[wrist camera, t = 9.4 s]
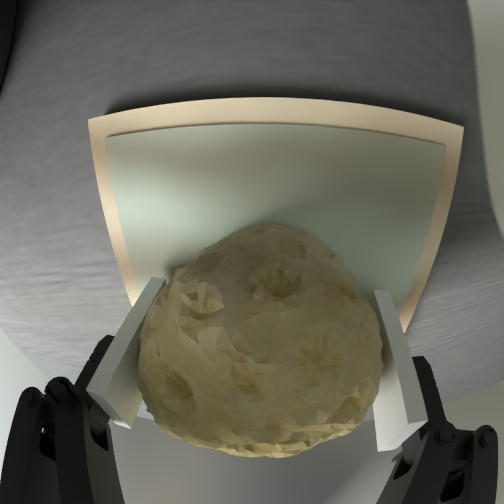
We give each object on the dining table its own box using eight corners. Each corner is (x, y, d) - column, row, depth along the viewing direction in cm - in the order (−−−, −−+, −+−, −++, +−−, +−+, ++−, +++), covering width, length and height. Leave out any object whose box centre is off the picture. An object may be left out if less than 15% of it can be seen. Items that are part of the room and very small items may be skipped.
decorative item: (337, 294, 17) (471, 334, 8) (245, 413, 16) (317, 528, 6) (223, 193, 15) (321, 125, 5) (115, 336, 13) (65, 464, 4)
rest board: (102, 116, 11) (85, 120, 10) (450, 123, 9) (466, 127, 8) (165, 364, 20) (160, 377, 19) (371, 378, 18) (373, 393, 17)
